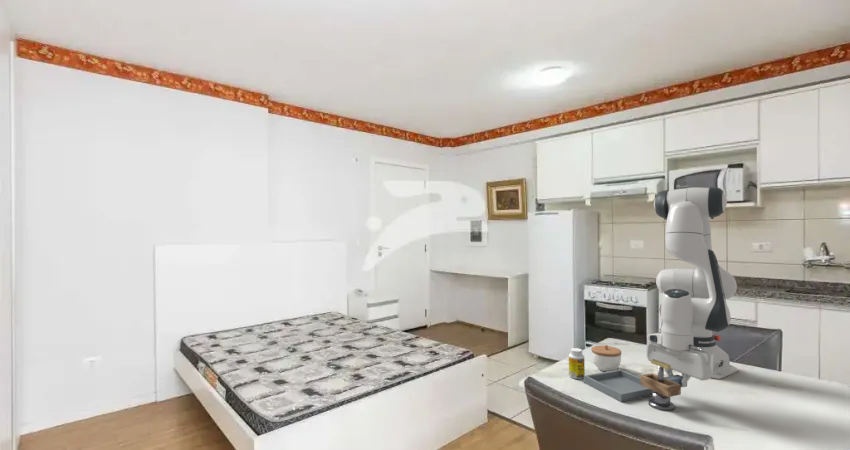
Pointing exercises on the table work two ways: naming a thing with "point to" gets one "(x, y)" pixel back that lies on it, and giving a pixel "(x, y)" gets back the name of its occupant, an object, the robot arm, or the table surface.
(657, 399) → the plunger
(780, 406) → the table surface
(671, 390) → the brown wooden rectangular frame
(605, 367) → the lidded jar
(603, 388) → the tray
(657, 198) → the robot arm
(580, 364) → the supplement bottle
